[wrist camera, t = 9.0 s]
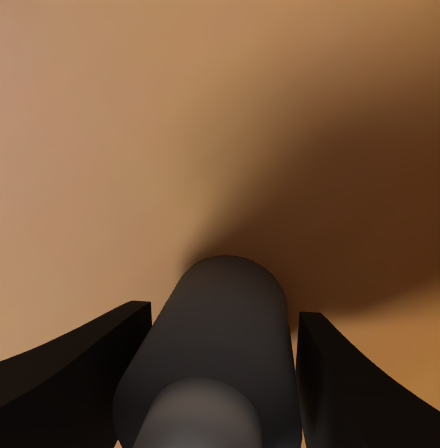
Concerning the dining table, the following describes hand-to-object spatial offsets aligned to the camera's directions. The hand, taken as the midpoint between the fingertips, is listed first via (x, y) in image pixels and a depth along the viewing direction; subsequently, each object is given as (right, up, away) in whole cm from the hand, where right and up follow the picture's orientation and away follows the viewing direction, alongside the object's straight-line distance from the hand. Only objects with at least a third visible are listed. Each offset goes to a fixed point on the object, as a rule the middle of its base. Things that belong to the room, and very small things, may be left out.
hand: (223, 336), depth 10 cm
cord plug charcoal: (0, 0, +2) cm, 2 cm away
